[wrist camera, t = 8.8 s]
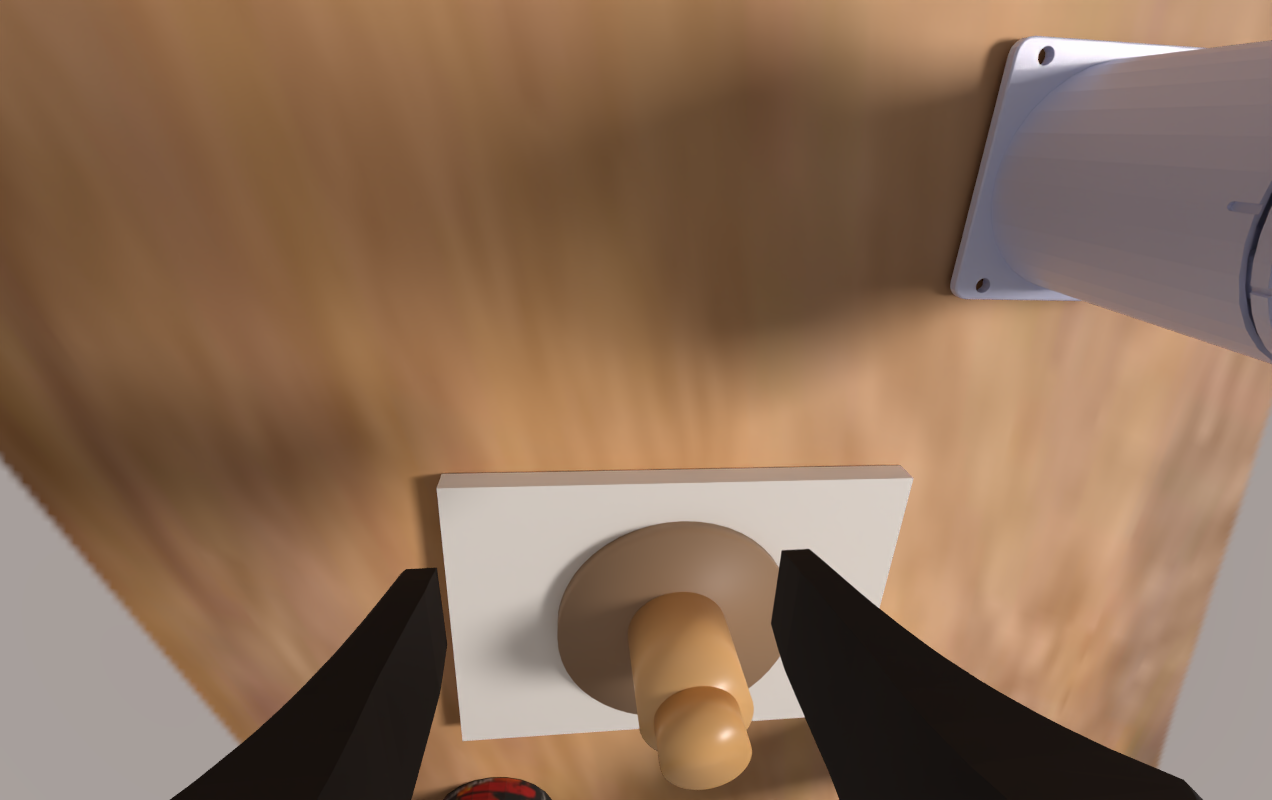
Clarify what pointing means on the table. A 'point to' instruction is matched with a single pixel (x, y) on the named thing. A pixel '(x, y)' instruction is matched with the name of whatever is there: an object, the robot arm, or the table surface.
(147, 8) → the table surface
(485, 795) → the deodorant
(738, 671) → the stepped tan cylinder
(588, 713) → the plinth
